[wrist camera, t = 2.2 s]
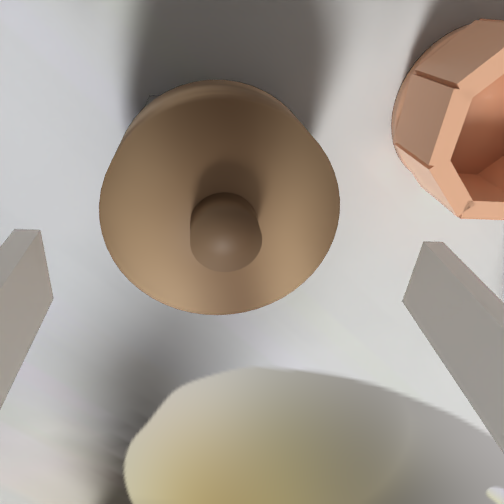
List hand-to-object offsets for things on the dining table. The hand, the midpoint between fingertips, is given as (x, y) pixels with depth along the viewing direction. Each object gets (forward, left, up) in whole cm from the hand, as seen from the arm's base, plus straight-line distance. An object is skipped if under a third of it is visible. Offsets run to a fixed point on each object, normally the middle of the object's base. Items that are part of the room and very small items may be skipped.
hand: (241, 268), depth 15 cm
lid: (0, 0, -7) cm, 7 cm away
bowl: (+14, +4, -10) cm, 18 cm away
